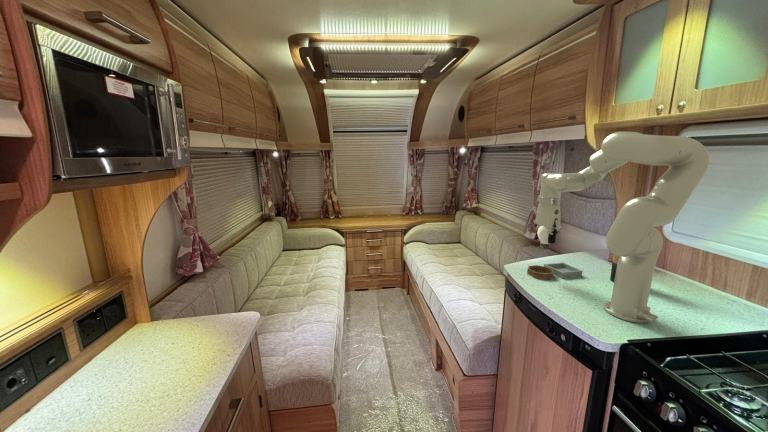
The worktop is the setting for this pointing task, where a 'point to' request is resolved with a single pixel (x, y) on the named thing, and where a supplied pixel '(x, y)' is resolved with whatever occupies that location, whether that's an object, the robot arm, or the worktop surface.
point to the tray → (564, 270)
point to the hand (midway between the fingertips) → (545, 240)
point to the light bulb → (544, 237)
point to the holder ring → (540, 275)
